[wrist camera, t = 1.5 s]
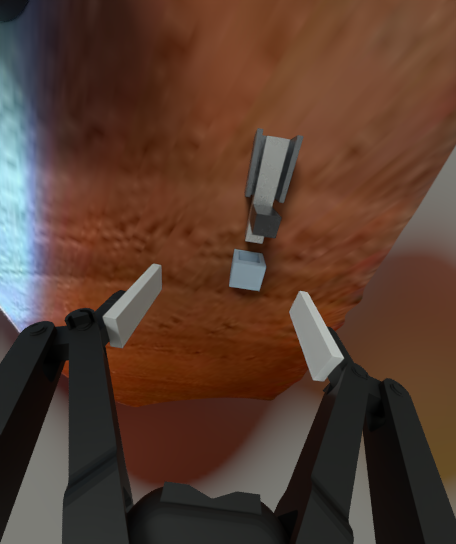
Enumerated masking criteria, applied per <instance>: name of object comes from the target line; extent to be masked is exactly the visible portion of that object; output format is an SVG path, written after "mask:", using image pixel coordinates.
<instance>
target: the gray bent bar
mask: <svg viewBox="0 0 456 544" xmlns="http://www.w3.org/2000/svg"><path fill="white" fill-rule="evenodd" d="M289 141H290V140H289V139H284V138H278V137H272V136H267V137H266V138H265V139H264V143H263V148H262V153H261V158H260V163H259V168H258V173H257V178H256V183H255V188H254V193H253V198H252V202H251V207H250V212H249V217H248V222H247V227H246V232H245V241H248V242H255V243H261V244H262V243H263V239H264V237H270V238H276V234H277V231H278V228H279V225H280V221H281V218H282V217H281V216H280V215H279V214H278V213H277V212H276V211H275V209H274V208H273V207H272V205H273V201H274V197H275V194H276V190H277V186H278V182H279V179H280V175H281V171H282V167H283V164H284V160H285V156H286V152H287V148H288V145H289Z"/></svg>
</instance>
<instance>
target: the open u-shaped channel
mask: <svg viewBox="0 0 456 544" xmlns="http://www.w3.org/2000/svg"><path fill="white" fill-rule="evenodd" d="M262 134H263V129H259V128H258V129H257V131H256V134H255V137H254V143H253V148H252V154H251V160H250V165H249V171H248V176H247V182H246V188H245V197H250V195H253V193H254V188H255V183H256V178H257V173H258V168H259V163H260V158H261V153H262V148H263V143H264V139H265V138H266V137H267V136H263V135H262ZM302 139H303V136H299V135H298V136H296V137H294V138H293V139H291V140H290V141H289V145H288V148H287V152H286V156H285V160H284V164H283V167H282V171H281V175H280V179H279V182H278V186H277V190H276V194H275V197H274V198H275V199H276V200H277V201H278V202H281V203H284V200H285V197H286V194H287V190H288V187H289V183H290V180H291V177H292V173H293V170H294V167H295V163H296V160H297V156H298V153H299V150H300V146H301V143H302Z"/></svg>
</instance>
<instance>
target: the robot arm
mask: <svg viewBox="0 0 456 544" xmlns="http://www.w3.org/2000/svg"><path fill="white" fill-rule="evenodd" d="M27 1H28V0H0V21H9V20H12V19H14V18H16V17H17V16H18V15H19V14H20V13H21V12H22V11H23V9H24V8H25V6H26V4H27ZM161 290H162V274H161V265H158V264H152V265H151V266H150V267H149V268H148V269H147V270H146V271H145V273H144V274H143V275H142V276H141V277H140V278H139V279H138V280H137V281H136V282H135V283H134V284H133V285H132V286H131V287H130V288H129V289H128V290H127V291H123V290H120V291H118V292H116V293H114V294H113V295H112V296H111V297H110V298H109V299H108V300H107V301H105V303H103V304H102V305H101V306H100V307H99V308H98V309H97V310H96V311H95V312H94V310H92V309H90V308H82V309H78V310H75V311H73V312H71V313H69V314H68V315H67V316H66V318H65V322H66V325H67V326H60V327H55V326H54V324H53V323H52V322H49V321H42V322H38V323H35V324H32V325H30V326H28V327H27V328H25V329H24V330H23V331H22V332H21V333H20V335H19V336H18V338H17V339H16V341H15V342H14V344H13V345H12V347H11V348H10V350H9V351H8V353H7V354H6V356H5V358H4V359H3V360H2V362H1V363H0V542H1V539H2V536H3V533H4V531H5V528H6V525H7V522H8V520H9V517H10V514H11V511H12V508H13V506H14V503H15V500H16V497H17V495H18V492H19V489H20V486H21V483H22V481H23V478H24V475H25V472H26V470H27V467H28V464H29V461H30V458H31V455H32V453H33V450H34V447H35V444H36V442H37V439H38V436H39V433H40V431H41V428H42V425H43V422H44V420H45V417H46V414H47V411H48V408H49V405H50V403H51V400H52V397H53V395H54V392H55V389H56V386H57V383H58V381H59V378H60V375H61V372H62V370H63V367H64V364H65V361H66V360H69V481H68V486H67V489H66V491H65V494H64V499H63V519H62V520H63V521H62V522H63V523H62V544H353V542H354V537H353V531H352V528H351V526H350V525H349V520H348V519H349V510H350V504H351V498H352V492H353V485H354V480H355V473H356V467H357V461H358V454H359V448H360V442H361V436H362V430H363V437H364V445H365V454H366V462H367V471H368V479H369V488H370V497H371V506H372V514H373V523H374V530H375V531H374V532H375V540H376V544H456V518H455V516H454V513H453V511H452V508H451V505H450V502H449V499H448V497H447V494H446V491H445V489H444V486H443V483H442V480H441V478H440V475H439V472H438V470H437V467H436V464H435V461H434V459H433V456H432V454H431V451H430V448H429V445H428V443H427V440H426V437H425V434H424V432H423V429H422V426H421V424H420V421H419V418H418V415H417V413H416V410H415V407H414V405H413V402H412V399H411V397H410V395H409V393H408V392H407V390H406V389H405V388H404V387H403V386H402V385H400V384H399V383H398V382H396V381H394V380H392V379H388V378H386V379H385V380H384V381H382V382H381V381H379V380H377V379H374V378H373V377H370V376H369V375H368V373H367V372H366V371H365V370H364V369H363V368H362V367H361V366H359V365H358V364H356V363H354V362H353V360H352V359H351V357H350V355H349V354H348V352H347V350H346V349H345V347H344V345H343V344H342V342H341V340H340V338H339V337H338V335H337V333H336V332H335V331H334V330H333V329H332V328H331V327H327V326H326V325H325V323H324V321H323V319H322V318H321V316H320V314H319V312H318V310H317V309H316V307H315V305H314V303H313V301H312V300H311V298H310V296H309V294H308V292H303V291H299V293H298V295H297V297H296V299H295V301H294V303H293V305H292V307H291V309H290V311H289V313H290V316H291V319H292V322H293V324H294V327H295V330H296V333H297V336H298V339H299V342H300V345H301V347H302V350H303V353H304V356H305V359H306V362H307V365H308V367H309V370H310V373H311V376H312V379H313V380H317V381H324V380H325V379H326V378H327V377H328V379H329V381H330V383H329V384H328V385H327V386H326V387H325V388H324V390H323V391H324V392H325V394H324V396H323V398H322V401H321V403H320V406H319V409H318V412H317V414H316V416H315V419H314V421H313V424H312V426H311V429H310V431H309V434H308V437H307V439H306V442H305V444H304V447H303V449H302V452H301V454H300V457H299V459H298V462H297V464H296V467H295V469H294V472H293V475H292V477H291V480H290V482H289V485H288V487H287V490H286V491H285V493H284V495H283V496H282V498H281V499H280V501H279V503H278V505H277V507H276V509H275V511H274V513H273V512H272V511H271V510H270V509H269V508H268V507H267V506H266V505H265V504H264V503H262V502H261V501H260V495H259V494H252V493H244V492H234V493H230V494H227V495H224V496H221V497H217V498H214V499H213V498H209V497H208V496H206V495H205V494H203V493H201V492H200V491H198V490H196V489H195V488H193V487H191V486H190V485H186V484H179V483H172V482H165V483H164V487H160V488H158V489H155V490H153V491H151V492H150V493H148V494H147V495H145V496H144V497H143V498H141V499H140V500H139V501H138V502H137V503H136V504H135V505H133V499H132V493H131V488H130V482H129V478H128V474H127V469H126V464H125V458H124V452H123V447H122V441H121V435H120V429H119V423H118V417H117V411H116V405H115V400H114V394H113V388H112V382H111V376H110V370H109V364H108V358H107V353H106V348H105V346H106V344H107V343H108V342H110V345H111V346H112V347H119V348H123V346H124V345H125V343H126V342H127V340H128V339H129V337H130V336H131V334H132V333H133V331H134V330H135V328H136V327H137V326H138V324H139V323H140V321H141V320H142V318H143V317H144V315H145V314H146V312H147V311H148V309H149V308H150V306H151V305H152V303H153V302H154V300H155V299H156V297H157V296H158V294H159V293H160V291H161Z"/></svg>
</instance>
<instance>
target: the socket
mask: <svg viewBox="0 0 456 544" xmlns="http://www.w3.org/2000/svg"><path fill="white" fill-rule="evenodd" d="M265 270H266V264H265V261H264V257H263V254H262V253H256V252H250V251H244V250H237V249H234V255H233V260H232V266H231V272H230V283H229V287H236V288H242V289H249V290H256V291H259V290H260V287H261V283H262V280H263V277H264V273H265Z"/></svg>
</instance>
